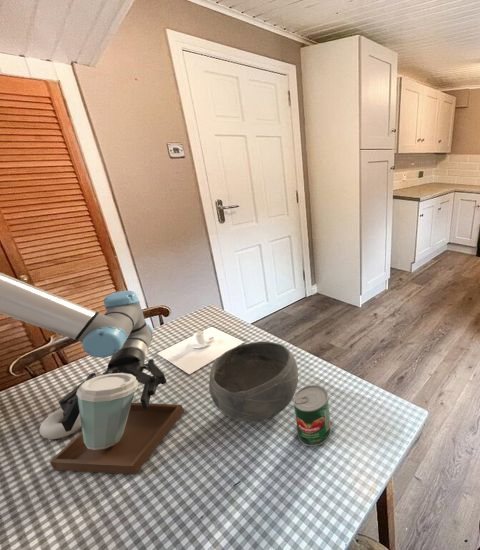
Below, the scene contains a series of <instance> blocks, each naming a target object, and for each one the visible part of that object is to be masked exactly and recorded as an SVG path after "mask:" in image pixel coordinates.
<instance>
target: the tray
mask: <svg viewBox="0 0 480 550" xmlns="http://www.w3.org/2000/svg"><path fill="white" fill-rule="evenodd" d="M184 413H185V411H184V408H183V405H182V404H174V403H173V404H172V403H171V404H170V403H150V402H149V405H148V408H147V409H143V406H142V404H141V402H132V403H131V407H130V411H129V414H128V418H127V421H126V425H125V428H124V432H123V435H122V437H121V439H120V441H119V442H117V443H116V444H115V445H113V446H111V447H108V448H106V449H100V450H92V449H88V448H87V447H86V445H85V443H84V440H83V433H82V431H81V432H80V433H78V434H77V435H76V436H75V437H74V438H73V439H72V440H71V441H69V442H68V444H66V446H64V447H63V448H62V449H61V450H60V451H59V452H58V453H57V454H56V455H55V456H54V457H52V459H50V460H49V461H48V462H49V464H50V466H51V467H52V469H53V471H64V472H65V471H67V472H84V473H85V472H86V473H104V474H120V475H122V474H123V475H137V474H138V473H139V471H140V470H141V469H142V468H143V466H144V465H145V464H146V462H147V461H148V459H149V458H150V457H151V456H152V454H153V453H154V452H155V450H156V449H157V448H158V446H159V445H160V444H161V443H162V441H163V440H164V439H165V438H166V436H167V435H168V434H169V432H170V431H171V430H172V428H174V426H175V425H176V423H177V422H178V421H179V419H180V418H181V417H182V416H183V414H184Z"/></svg>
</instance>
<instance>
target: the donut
mask: <svg viewBox="0 0 480 550" xmlns="http://www.w3.org/2000/svg"><path fill="white" fill-rule="evenodd" d="M63 412H64V411H63V410H62V408H61V407H60V408H59V409H56V410H55V411H54V412H52V413H50V414H49V415H48V416H47V417H45V418H44V419H43V421H42V423H41V424H40V426H39V431H38V432H39V434H40V435H41V437H42V438H44V439H48V440H57V439H63V438H65V437H68V436H71V435H73V434H75V433H77V432H79V431H80V430H82V425H81V418H80V413H79V415H78V417H77V419H76V421H75V423H74V425H73V427H72V429H71V431H68V432H66V431H65V429H64V427H63V425H62V423H61V422H62V420H63V418H64V416H63Z"/></svg>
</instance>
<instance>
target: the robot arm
mask: <svg viewBox="0 0 480 550" xmlns="http://www.w3.org/2000/svg"><path fill="white" fill-rule="evenodd" d="M103 304H104V308H105V310H106V311H105V312H104V313H100V312H98V311H95V310H93V309H91V308H88V307H86V306H83V305H81V304H80V303H76V302H74V301H71V300H69V299H66V298H64V297H62V296H59V295H56V294H54V293H52V292H49V291H47V290H45V289H41V288H40V287H37V286H35V285H33V284H30V283H27V282H25V281H22V280H20V279H18V278H16V277H12V276H10V275H8V274H5V273H3V272H0V314H1V315H4V316H7V317H10V318H12V319H16V320H18V321H21V322H23V323H27V324H29V325H32V326H35V327H38V328H40V329H44V330H46V331H49V332H52V333H55V334H58V335H61V336H62V337H66V338H69V339H72V340H75V341H77V342H80V343H81V346H82V350H83V351H84V352H85V353H86V354H87V355H89V356H90V357H93V358H100V359H101V358H102V359H103V358H108V357H109V358H110V357H111V358H110V359H109V362H108V363H107V368H106V370H105V371H104V372H103V373H101V374H96V372H92V373H90V374H88V376H87V377H86V379H85V380H83V381H82V382H81V383H79V384H78V385H77V386H76V387H75V388H74V389H72V390H71V391H70V392H68V393H67V394H66V395H65V396H63V397H62V398H61V399H59V401H58V404H59V406H60V408H62V410H63V411H64V412H63V416H64V418H63V420H62V422H61V423H62V425H63V427H64V429H65V431H66V432H68V431H71V429H72V427H73V425H74V423H75V421H76V419H77V417H78V415H79V413H80V410H79V403H78V396H77V395H76V393H77V390H78V389H79V387H80V386H81V385H82V384H83V383H84V382H85V381H87V380H89V379H92V378H94V377H97V376H101V375H106V374H114V373H126V374H132V375H133V376H135V377H136V380H137V381H138V383H141V384H142V385H143V388H142V392H141V395H140V400H139V401H140V403H141V404H142V406H143V409H147V408H148V405H149V403H150V401H151V396H154V395H155V394H156V392H157V388H158V387H159V385H166V384H167V379H166V376H165V373H164V372H163V371H162V370H161V369H160V368H159V367H158V366H157V365H156V363H155V362H156V361H155V360H154V358H151V359H149V360H148V361H147V362H146V363H145V361H146V359H147V355H148V351H149V348H150V346H151V343H152V341H153V337H154V336H153V335H154V331H153V327H152V326H151V325H150V324H148V323H147V321H146V319H145V316H144V312H143V309H142V306H141V301H140V300H139V298H138V295H137V293H136V292H135V291H132V290H120V291H116V292H113V293H110V294H108V295H106V296H104V298H103ZM145 370H146V371H147V372H150V374H151V375H150V374H148V373H145V372H143V371H145Z"/></svg>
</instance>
